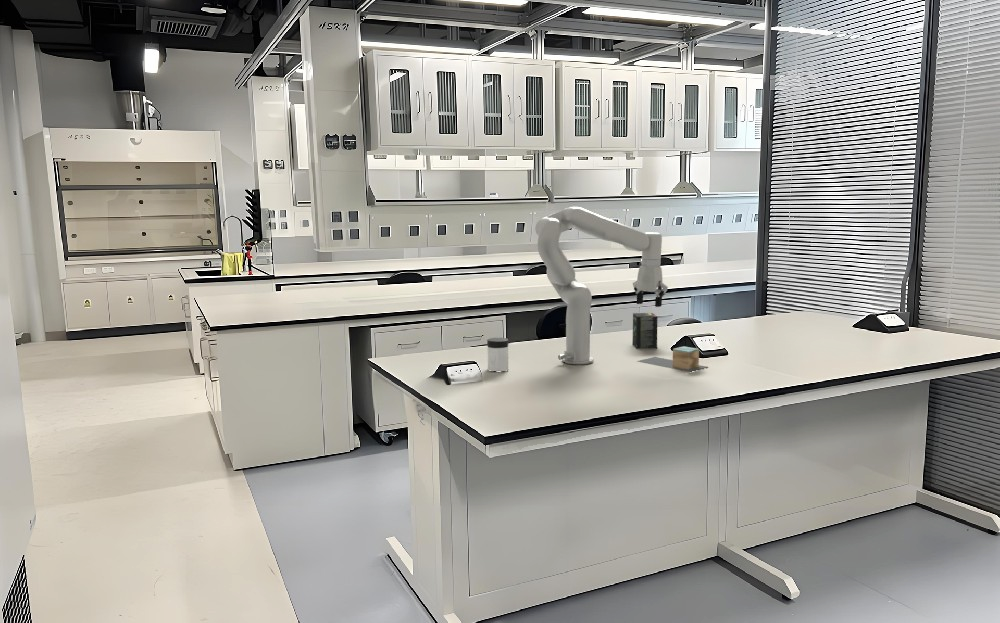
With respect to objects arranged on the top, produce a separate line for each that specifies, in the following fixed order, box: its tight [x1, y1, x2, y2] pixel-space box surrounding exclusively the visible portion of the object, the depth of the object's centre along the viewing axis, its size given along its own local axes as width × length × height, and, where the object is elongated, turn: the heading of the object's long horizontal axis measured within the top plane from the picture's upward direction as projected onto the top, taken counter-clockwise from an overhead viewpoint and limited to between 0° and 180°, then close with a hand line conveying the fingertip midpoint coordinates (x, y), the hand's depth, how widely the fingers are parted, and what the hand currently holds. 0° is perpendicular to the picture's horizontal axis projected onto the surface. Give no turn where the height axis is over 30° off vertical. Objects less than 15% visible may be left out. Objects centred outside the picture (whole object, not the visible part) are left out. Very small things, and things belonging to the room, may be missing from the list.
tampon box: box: [631, 312, 658, 350], centre depth 308 cm, size 11×9×15 cm
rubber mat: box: [636, 356, 709, 373], centre depth 274 cm, size 12×25×1 cm, turn 40°
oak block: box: [672, 346, 700, 370], centre depth 268 cm, size 7×7×7 cm
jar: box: [486, 337, 509, 372], centre depth 268 cm, size 9×8×12 cm
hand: (648, 305), depth 284 cm, fingers open, 9 cm apart
